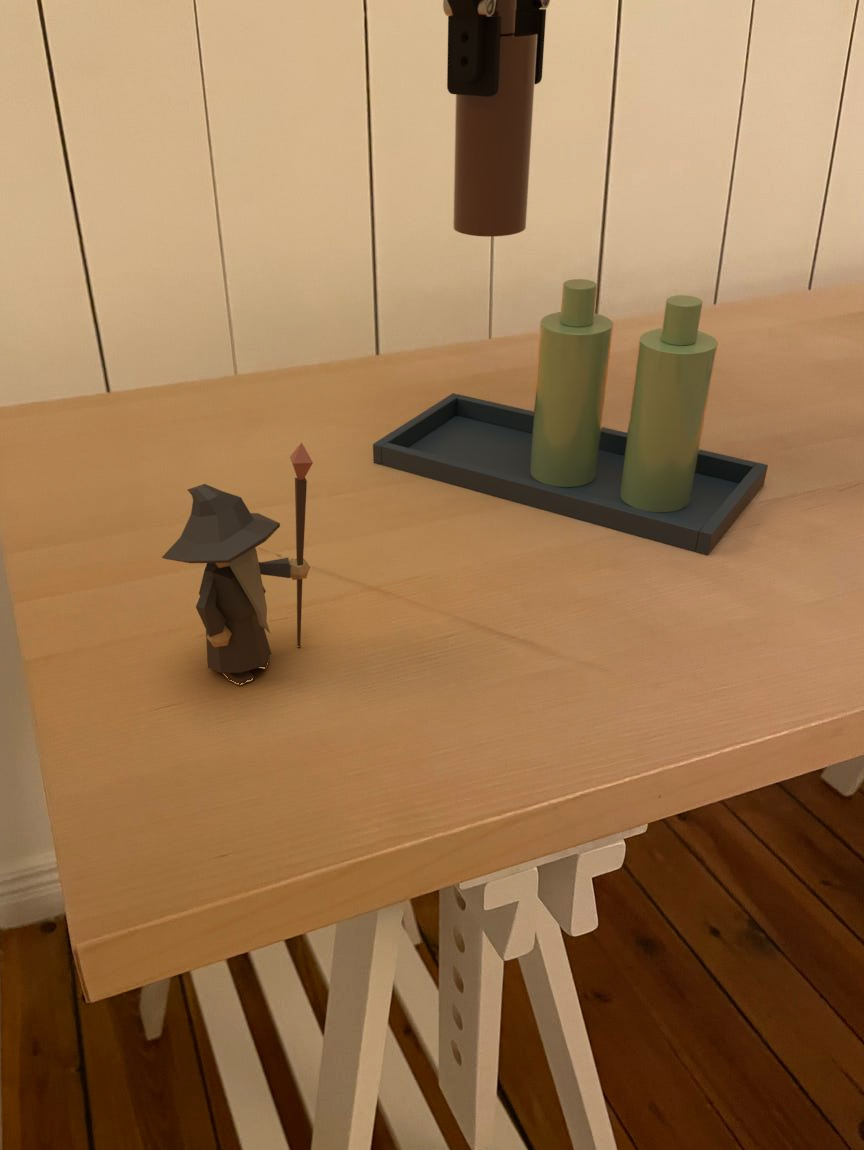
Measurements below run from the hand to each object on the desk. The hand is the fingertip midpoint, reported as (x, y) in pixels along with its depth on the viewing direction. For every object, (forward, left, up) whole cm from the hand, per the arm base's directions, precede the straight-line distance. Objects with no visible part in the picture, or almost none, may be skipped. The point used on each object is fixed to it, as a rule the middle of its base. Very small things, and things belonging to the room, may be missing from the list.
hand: (495, 85), depth 62 cm
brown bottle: (0, 0, -8) cm, 8 cm away
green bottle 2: (-14, -1, -25) cm, 28 cm away
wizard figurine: (-2, +28, -25) cm, 38 cm away
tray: (-7, -1, -25) cm, 26 cm away
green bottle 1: (-7, -1, -25) cm, 25 cm away
